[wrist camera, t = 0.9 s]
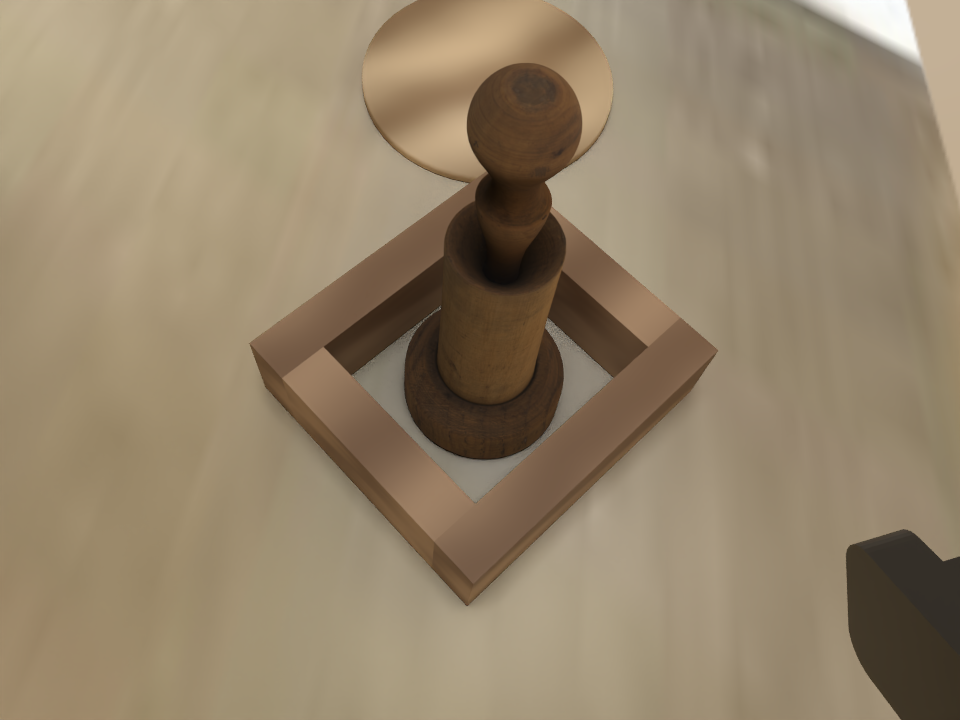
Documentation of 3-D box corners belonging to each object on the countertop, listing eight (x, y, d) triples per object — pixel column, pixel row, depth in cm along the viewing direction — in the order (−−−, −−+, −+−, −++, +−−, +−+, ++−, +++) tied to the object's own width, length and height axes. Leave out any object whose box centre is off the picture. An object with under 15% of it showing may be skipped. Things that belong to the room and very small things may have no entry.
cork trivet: (310, 73, 45) (309, 64, 44) (490, -37, 49) (491, -46, 49) (484, 229, 41) (485, 222, 41) (661, 96, 46) (664, 87, 45)
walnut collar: (265, 386, 37) (249, 343, 33) (492, 215, 41) (499, 161, 38) (466, 606, 33) (473, 584, 30) (689, 391, 38) (718, 350, 34)
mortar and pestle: (571, 346, 39) (683, 29, 23) (538, 479, 36) (638, 223, 20) (429, 307, 39) (439, -32, 23) (384, 436, 36) (360, 151, 20)
